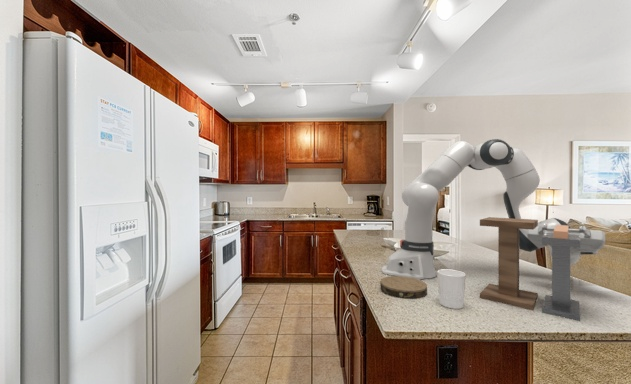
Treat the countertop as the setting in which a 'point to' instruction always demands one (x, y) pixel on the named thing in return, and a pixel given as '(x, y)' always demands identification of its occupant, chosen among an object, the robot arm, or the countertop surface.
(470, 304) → the countertop surface
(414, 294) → the round wood slice
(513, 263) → the walnut stand
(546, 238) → the grey stand
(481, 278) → the countertop surface
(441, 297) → the white cup
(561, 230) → the terracotta bar
